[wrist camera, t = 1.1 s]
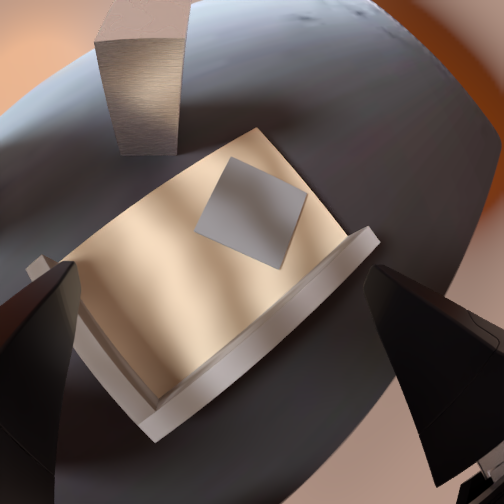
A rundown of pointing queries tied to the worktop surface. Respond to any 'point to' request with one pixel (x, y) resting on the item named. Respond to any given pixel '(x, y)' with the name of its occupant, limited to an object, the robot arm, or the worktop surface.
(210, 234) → the corner arena
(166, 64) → the aluminium post
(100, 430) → the worktop surface
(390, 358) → the robot arm
